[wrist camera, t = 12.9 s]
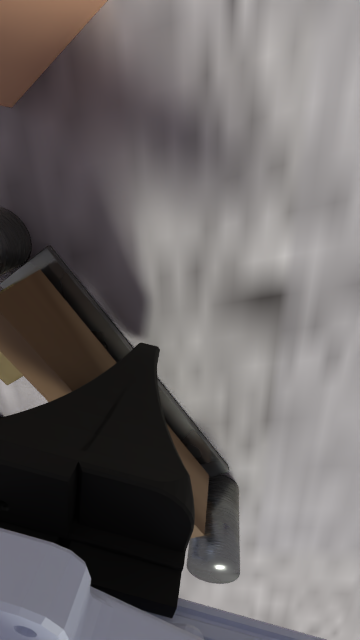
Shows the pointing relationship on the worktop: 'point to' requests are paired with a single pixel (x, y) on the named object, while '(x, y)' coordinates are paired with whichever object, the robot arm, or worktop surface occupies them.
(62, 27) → the block
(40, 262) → the frame
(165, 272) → the worktop surface
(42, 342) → the brown long flat bar
